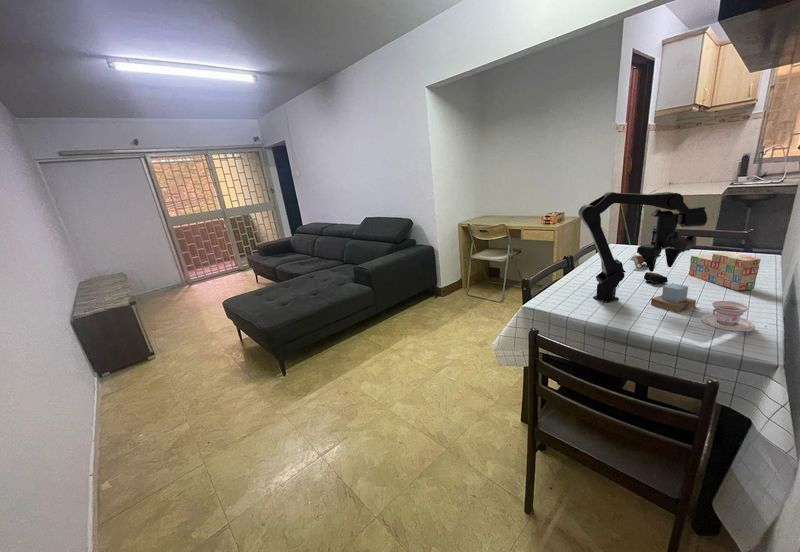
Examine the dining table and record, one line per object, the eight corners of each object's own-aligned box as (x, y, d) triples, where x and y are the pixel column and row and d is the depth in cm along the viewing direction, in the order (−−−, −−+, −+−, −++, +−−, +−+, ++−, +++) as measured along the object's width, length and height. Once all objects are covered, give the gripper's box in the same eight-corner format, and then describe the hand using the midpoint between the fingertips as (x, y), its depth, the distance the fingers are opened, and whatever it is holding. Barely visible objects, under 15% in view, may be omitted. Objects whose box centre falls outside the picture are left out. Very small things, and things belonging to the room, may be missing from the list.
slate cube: (677, 302, 112) (679, 289, 110) (661, 298, 116) (663, 286, 115) (686, 299, 113) (688, 286, 112) (670, 295, 118) (672, 283, 116)
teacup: (726, 313, 106) (729, 296, 104) (767, 329, 94) (771, 310, 93) (690, 318, 106) (693, 301, 104) (727, 334, 94) (731, 315, 93)
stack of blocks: (687, 275, 141) (691, 248, 138) (701, 273, 141) (705, 247, 138) (738, 291, 121) (744, 260, 117) (754, 289, 121) (761, 258, 117)
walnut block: (677, 313, 110) (679, 305, 109) (650, 305, 118) (651, 298, 118) (694, 307, 113) (696, 300, 112) (667, 300, 121) (667, 293, 120)
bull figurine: (626, 270, 157) (627, 254, 155) (642, 264, 162) (644, 249, 160) (635, 272, 153) (637, 255, 151) (652, 266, 158) (654, 250, 156)
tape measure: (650, 283, 134) (653, 275, 133) (639, 279, 141) (641, 271, 140) (666, 285, 134) (669, 277, 133) (653, 280, 141) (656, 272, 140)
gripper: (671, 234, 104) (665, 279, 108) (711, 226, 109) (703, 269, 113) (638, 230, 114) (633, 271, 119) (675, 223, 119) (669, 263, 123)
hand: (660, 269), depth 118 cm, fingers open, 9 cm apart
